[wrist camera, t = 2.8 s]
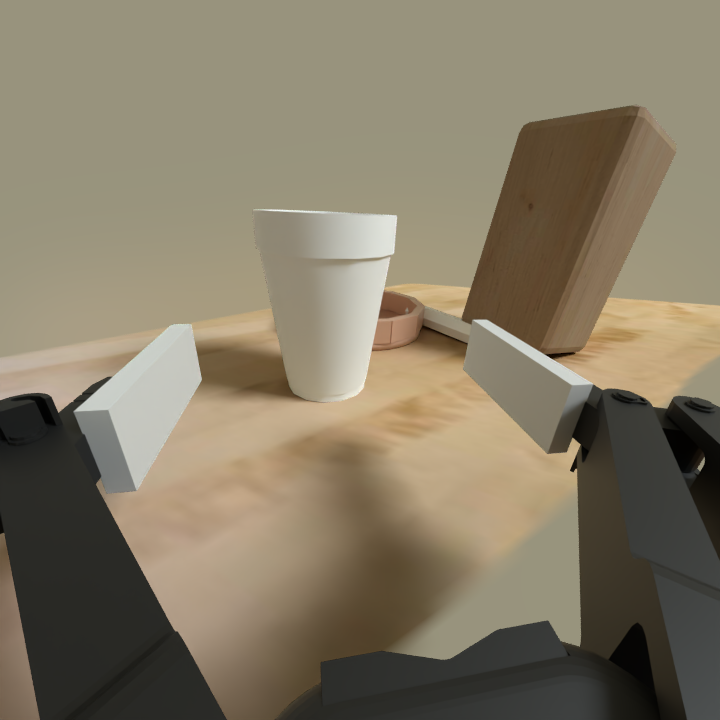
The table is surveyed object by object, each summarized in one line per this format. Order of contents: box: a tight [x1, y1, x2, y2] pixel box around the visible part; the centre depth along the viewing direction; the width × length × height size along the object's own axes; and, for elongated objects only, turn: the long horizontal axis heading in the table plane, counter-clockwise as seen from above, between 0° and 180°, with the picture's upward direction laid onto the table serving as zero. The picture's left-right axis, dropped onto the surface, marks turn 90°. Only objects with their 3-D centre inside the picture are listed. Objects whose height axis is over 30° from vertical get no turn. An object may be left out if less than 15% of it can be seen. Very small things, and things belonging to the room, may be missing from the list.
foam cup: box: [252, 209, 397, 403], centre depth 24 cm, size 10×9×13 cm
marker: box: [405, 306, 471, 343], centre depth 37 cm, size 3×2×16 cm
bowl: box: [372, 290, 425, 351], centre depth 39 cm, size 15×15×3 cm
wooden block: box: [462, 105, 676, 354], centre depth 32 cm, size 10×10×20 cm
